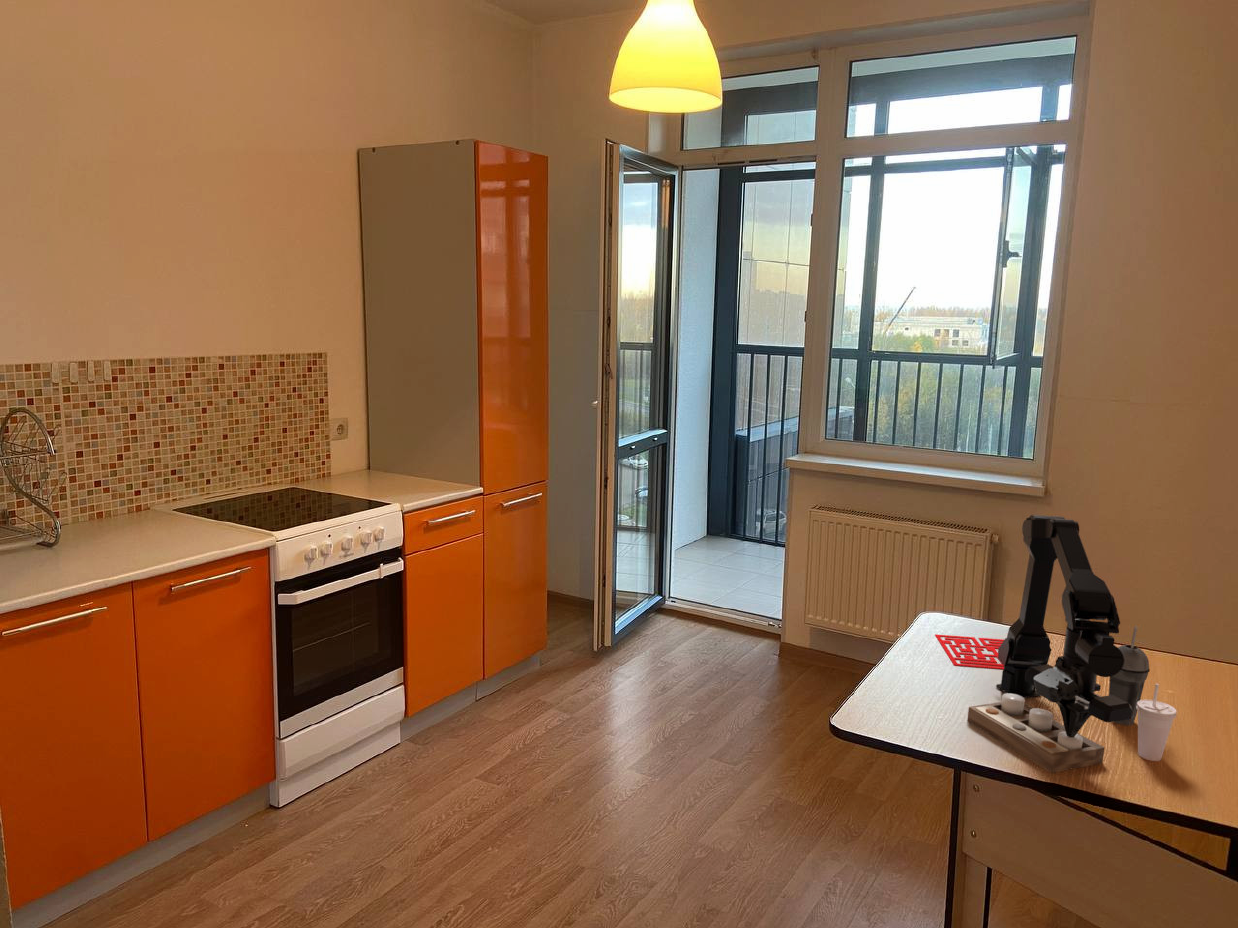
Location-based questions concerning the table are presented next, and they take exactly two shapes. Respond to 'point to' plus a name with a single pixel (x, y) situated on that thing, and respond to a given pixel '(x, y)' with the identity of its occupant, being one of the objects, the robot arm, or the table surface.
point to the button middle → (1040, 720)
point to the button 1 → (1012, 704)
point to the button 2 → (1070, 741)
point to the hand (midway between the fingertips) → (1070, 736)
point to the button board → (1034, 739)
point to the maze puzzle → (979, 654)
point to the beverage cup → (1130, 677)
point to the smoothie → (1153, 726)
